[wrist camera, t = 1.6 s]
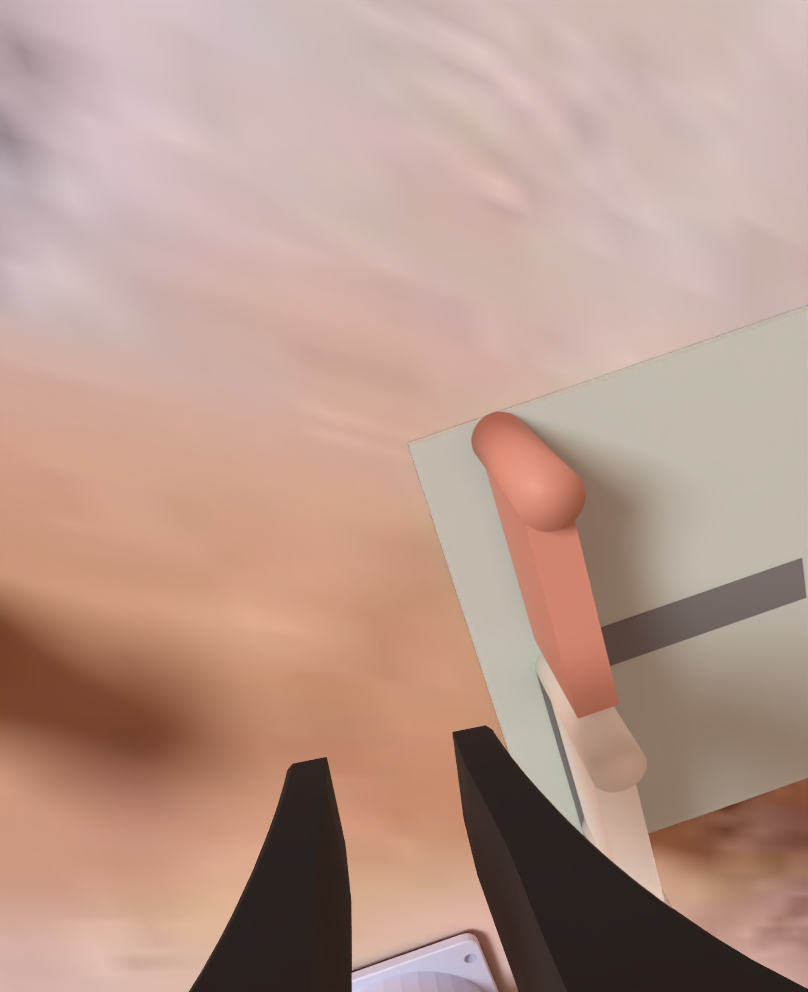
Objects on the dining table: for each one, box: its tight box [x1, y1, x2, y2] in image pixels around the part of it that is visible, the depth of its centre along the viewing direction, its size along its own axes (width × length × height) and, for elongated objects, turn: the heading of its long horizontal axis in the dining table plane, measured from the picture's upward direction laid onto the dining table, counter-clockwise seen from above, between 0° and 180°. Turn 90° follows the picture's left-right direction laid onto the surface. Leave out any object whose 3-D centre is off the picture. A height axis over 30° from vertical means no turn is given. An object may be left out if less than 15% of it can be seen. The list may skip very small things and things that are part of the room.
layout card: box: [408, 305, 808, 836], centre depth 25 cm, size 18×15×1 cm
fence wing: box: [471, 412, 619, 719], centre depth 20 cm, size 8×2×5 cm, turn 17°
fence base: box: [535, 652, 672, 908], centre depth 24 cm, size 9×2×6 cm, turn 17°
